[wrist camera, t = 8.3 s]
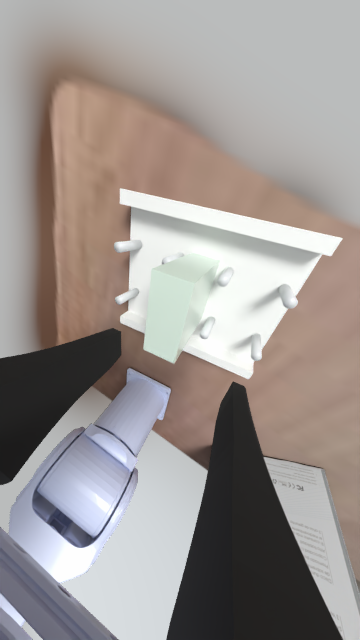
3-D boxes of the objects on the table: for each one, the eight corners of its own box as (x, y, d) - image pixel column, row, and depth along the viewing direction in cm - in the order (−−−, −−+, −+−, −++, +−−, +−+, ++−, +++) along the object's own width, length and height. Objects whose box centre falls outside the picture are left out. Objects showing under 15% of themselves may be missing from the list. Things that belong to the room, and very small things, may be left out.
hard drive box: (224, 469, 32) (188, 722, 15) (211, 443, 29) (154, 712, 13) (330, 499, 24) (480, 1062, 8) (326, 467, 21) (532, 1190, 5)
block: (201, 319, 17) (174, 363, 12) (179, 310, 18) (143, 349, 12) (220, 260, 14) (194, 283, 8) (192, 252, 15) (151, 268, 9)
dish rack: (249, 362, 19) (248, 391, 15) (132, 313, 22) (111, 328, 19) (328, 236, 12) (354, 239, 8) (138, 193, 15) (105, 184, 12)
